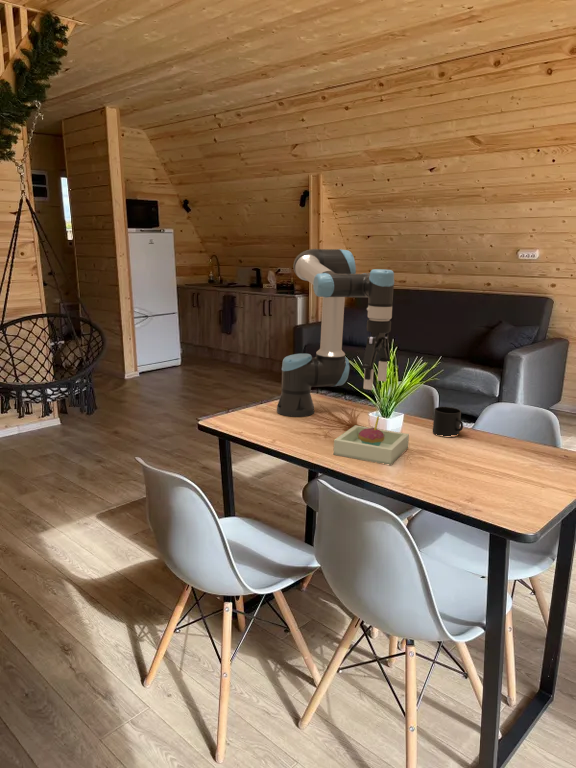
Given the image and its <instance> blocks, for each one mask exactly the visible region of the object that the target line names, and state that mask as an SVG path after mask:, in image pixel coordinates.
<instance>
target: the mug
mask: <svg viewBox="0 0 576 768" xmlns="http://www.w3.org/2000/svg"><path fill="white" fill-rule="evenodd" d="M461 416H462V410H461V409H459V408H455V407H450V406H438V407H435V408H434V410H433V422H432V433H433V435H435V434H437V435H443V436H451V435H457V434H459V435H460V432H462V431H463V430H464V429H463V428H464V423H463V421H462V419H461V418H462V417H461ZM437 435H436V436H437Z"/></svg>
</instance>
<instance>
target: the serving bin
mask: <svg viewBox="0 0 576 768" xmlns="http://www.w3.org/2000/svg"><path fill="white" fill-rule="evenodd" d="M368 428H370V427H368V426H362V425H361V426H360V425H357V424H355V425H353V426H352V427H351V428H349V429H347V430H346V431H345V432H344V433H342V434H341V435H339V436H337V437H336V438H335V439H334V440H333V455H334V456H339V457H344V458H350V459H354V460H359V461H365V462H370V461H371V462H370V463H375V462H377V463H376V464H380V463H384V464H383V465H385V464H390V465H389V466H392V465H393V464H394V463H395V462H396V461H397V460H398V459H399V458H400V457H401V456H402V455H403V454H404V453H405V452H406V451H407V450H408V449H409V441H410V433H404V432H398V431H392V430H388V429H380V428H377V429H378V430H380V431H381V432H382V433H383V434H384V435H385V436H384V441H382V442H381V443H380V446H375V445H369V444H364V443H362V441H361V440H360V439H359V438H358V435H359V432H360V431H362V430H363V429H368ZM407 448H408V449H407ZM406 449H407V450H406ZM405 450H406V451H405ZM404 451H405V452H404ZM403 452H404V453H403ZM402 453H403V454H402ZM401 454H402V455H401ZM400 455H401V456H400ZM399 456H400V457H399ZM398 457H399V458H398ZM397 458H398V459H397ZM396 459H397V460H396ZM395 460H396V461H395ZM394 461H395V462H394ZM393 462H394V463H393ZM392 463H393V464H392ZM391 464H392V465H391Z"/></svg>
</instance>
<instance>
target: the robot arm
mask: <svg viewBox="0 0 576 768" xmlns="http://www.w3.org/2000/svg"><path fill="white" fill-rule="evenodd" d="M355 261H356V260H355V257H354V255H353V253H352V252H351V251H350V250H348V249H347V250H346V249H340V248H338V249H337V248H336V249H335V248H333V249H332V248H331V249H327V248H324V249H323V248H318V249H317V248H311V249H307V250H304V251H302V252H300V253H299V254H297V256H296V257H295V258H294V261H293V265H292V266H293V267H292V268H293V271H294V273H295V275H296V276H297V278H299V279H300V280H302V281H306V282H309V283H310V284H311V285H312V286H313V287H312V288H313V292H314V295H315V297H319V298H322V308H321V323H320V325H321V327H320V342H319V343H320V344H319V345H320V347H319V349H318V350H317V351H316V354H315V357H313V356H312V355H311V354H310V353H294V354H290V355H287V356H285V357H284V358H283V360H282V364H281V365H282V366H281V392H280V393H281V394H280V395H279V399H278V401H277V405H276V413H277V414H279V415H281V416H286V417H295V418H296V417H297V418H300V417H303V418H304V417H309V416H312V415H313V414H315V406H314V402H313V399H312V394H311V388H312V387H337V386H339V387H340V386H343V385H344V384H345V383H346V382H347V380H348V378H349V374H350V361H349V359H348V357H346V353H345V351H343V349H342V348H343V335H344V334H343V333H344V332H343V331H344V316H345V314H344V313H345V300H346V299H345V298H368V302H367V307H366V311H367V318H368V319H367V321H366V331H367V332H369V333H371V334H370V335H371V336H367V338H366V346H365V351H364V355H363V359H362V364H361V369H362V370H363V369H364V373H363V389H364V390H367V391H368V390H369V391H372V390H373V388H374V387H373V385H374V373H375V372H374V370H375V369H374V364H375V362H376V358H377V354H378V358H379V361H378V368H377V369H378V370H377V381H379V382H387V376H388V375H387V372H388V362H391V353H390V352H391V351H390V342H389V333H391V331H392V321H391V319H392V318H393V302H394V301H393V300H394V299H393V298H394V287H395V286H394V285H395V272H394V271H393V270H392V269H383V268H382V269H381V268H376V269H371V270H370V272H364V273H356V272H357V266H356V265H357V264H356V262H355Z"/></svg>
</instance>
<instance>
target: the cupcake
mask: <svg viewBox="0 0 576 768" xmlns="http://www.w3.org/2000/svg"><path fill="white" fill-rule="evenodd" d="M379 420H380V414H378V416H377V417H376V420H375V425H374V427H369V428H368V429H363V430H362V431H360V432H359V435H358V438H359V439H360V440H361V441H362V443H364V444H369V445H375V446H380V443H381V442H382V441H384V436H385V435H384V434H383V433H382V432H381V431H380V430H378V429H379V428H378V423H379Z"/></svg>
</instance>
